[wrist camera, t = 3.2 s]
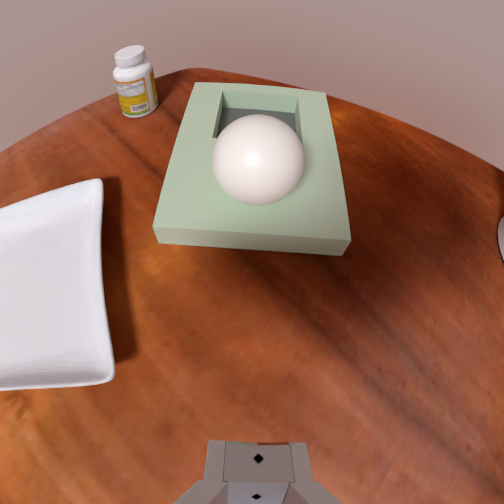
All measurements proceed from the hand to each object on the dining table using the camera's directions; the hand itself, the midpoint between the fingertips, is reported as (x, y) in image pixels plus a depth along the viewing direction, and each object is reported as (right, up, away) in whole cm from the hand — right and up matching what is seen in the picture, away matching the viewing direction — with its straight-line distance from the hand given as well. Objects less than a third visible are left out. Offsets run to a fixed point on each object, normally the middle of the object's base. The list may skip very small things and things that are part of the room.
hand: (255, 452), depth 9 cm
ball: (0, +14, +18) cm, 23 cm away
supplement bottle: (-16, +27, +32) cm, 45 cm away
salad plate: (-23, +2, +19) cm, 30 cm away
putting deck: (0, +17, +28) cm, 33 cm away
